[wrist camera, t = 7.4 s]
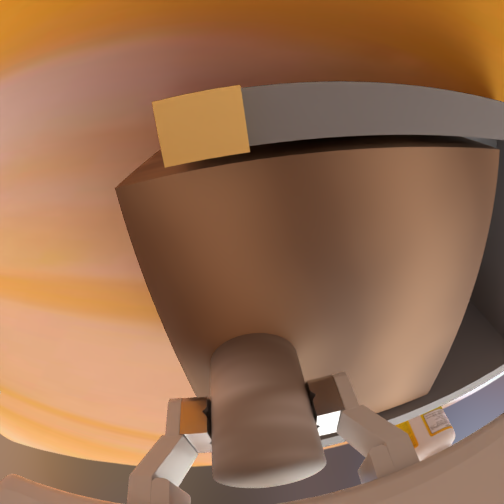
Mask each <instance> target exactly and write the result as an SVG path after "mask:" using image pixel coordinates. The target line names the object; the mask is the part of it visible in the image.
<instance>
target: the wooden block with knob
mask: <svg viewBox="0 0 504 504" xmlns="http://www.w3.org/2000/svg"><path fill="white" fill-rule="evenodd" d="M249 148H250V152H248V153H241V154H235V155H228V156H222V157H217V158H211V159H205V160H200V161H195V162H190V163H185V164H180V165H175V166H170V167H166V168H165V166H164V162H163V157H162V152H161V150H159V151H158V152H157V153H156V154H154V155H153V156H152V157H151V158H149V159H148V160H147V161H146V162H145V163H143V164H142V165H141V166H140V167H139V168H137V169H136V170H135V171H134V172H133V173H132V174H130V175H129V176H128V177H127V178H126V179H125V180H123V181H122V182H121V183H120V184H119V185H118V186H117V187H116V188H115V190H116V193H117V197H118V200H119V204H120V207H121V210H122V214H123V217H124V220H125V223H126V227H127V230H128V233H129V236H130V239H131V242H132V245H133V248H134V251H135V254H136V257H137V260H138V262H139V265H140V268H141V271H142V273H143V276H144V279H145V281H146V284H147V287H148V289H149V292H150V295H151V297H152V300H153V302H154V305H155V307H156V310H157V312H158V314H159V317H160V319H161V322H162V324H163V326H164V329H165V331H166V333H167V336H168V338H169V340H170V342H171V345H172V347H173V349H174V351H175V353H176V356H177V358H178V360H179V362H180V364H181V366H182V368H183V370H184V372H185V374H186V377H187V379H188V381H189V383H190V385H191V387H192V389H193V391H194V393H195V394H196V396H197V397H206V396H209V398H210V400H211V441H212V470H213V478H214V480H215V481H217V482H218V483H221V484H224V485H227V486H232V487H241V488H263V487H272V486H279V485H284V484H288V483H293V482H296V481H299V480H302V479H305V478H307V477H310V476H312V475H314V474H316V473H317V472H319V471H320V470H321V469H323V468H324V467H325V465H326V458H325V455H324V451H323V447H322V443H321V439H320V436H319V432H318V428H317V424H316V421H315V417H314V413H313V410H312V406H311V402H310V399H309V395H308V391H307V388H306V381H308V380H312V379H316V378H320V377H324V376H328V375H333V374H337V373H341V372H345V373H346V374H347V376H348V378H349V381H350V383H351V386H352V388H353V391H354V393H355V396H356V398H357V401H358V403H359V406H360V405H364V406H366V407H367V408H369V409H370V410H372V411H373V412H375V413H379V412H382V411H385V410H388V409H391V408H393V407H396V406H399V405H402V404H404V403H407V402H409V401H412V400H415V399H417V398H419V397H422V396H424V395H427V394H428V392H429V391H430V389H431V387H432V385H433V383H434V381H435V379H436V377H437V375H438V373H439V371H440V369H441V367H442V365H443V363H444V361H445V359H446V357H447V355H448V353H449V350H450V348H451V346H452V344H453V341H454V339H455V337H456V334H457V332H458V329H459V327H460V324H461V322H462V319H463V317H464V314H465V311H466V309H467V306H468V303H469V300H470V297H471V294H472V291H473V288H474V285H475V282H476V278H477V275H478V272H479V268H480V265H481V261H482V257H483V253H484V249H485V245H486V241H487V236H488V232H489V227H490V222H491V217H492V211H493V205H494V199H495V192H496V185H497V176H498V166H499V153H500V149H497V148H494V147H491V146H489V145H486V144H483V143H480V142H477V141H474V140H471V139H467V138H464V137H461V136H443V135H364V136H344V137H329V138H316V139H305V140H295V141H286V142H277V143H269V144H261V145H254V146H249Z"/></svg>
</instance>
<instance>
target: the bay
mask: <svg viewBox="0 0 504 504" xmlns="http://www.w3.org/2000/svg"><path fill="white" fill-rule="evenodd" d="M152 106H153V112H154V117H155V122H156V128H157V133H158V138H159V143H160V148H161V152H162V157H163V162H164V166H165V168H166V167H170V166H175V165H180V164H185V163H190V162H195V161H200V160H205V159H211V158H217V157H222V156H228V155H235V154H241V153H248V152H250V148H249V146H254V145H261V144H269V143H277V142H286V141H295V140H305V139H316V138H329V137H344V136H364V135H443V136H461V137H464V138H467V139H471V140H474V141H477V142H480V143H483V144H486V145H489V146H491V147H494V148H497V149H500V153H499V166H498V176H497V185H496V192H495V199H494V205H493V211H492V217H491V222H490V227H489V232H488V236H487V241H486V245H485V249H484V253H483V257H482V261H481V265H480V268H479V272H478V275H477V278H476V282H475V285H474V288H473V291H472V294H471V297H470V300H469V303H468V306H467V309H466V311H465V314H464V317H463V319H462V322H461V324H460V327H459V329H458V332H457V334H456V337H455V339H454V341H453V344H452V346H451V348H450V350H449V353H448V355H447V357H446V359H445V361H444V363H443V365H442V367H441V369H440V371H439V373H438V375H437V377H436V379H435V381H434V383H433V385H432V387H431V389H430V391H429V392H428V394H427V395H424V396H422V397H419V398H417V399H415V400H412V401H409V402H407V403H404V404H402V405H399V406H396V407H393V408H391V409H388V410H385V411H382V412H379V413H376V414H378V415H379V416H381V417H382V418H384V419H386V420H387V421H389V422H390V423H392V424H393V425H397V424H400V423H402V422H405V421H407V420H410V419H412V418H415V417H417V416H420V415H422V414H424V413H426V412H429V411H431V410H433V409H435V408H438V407H440V406H442V405H444V404H446V403H448V402H450V401H452V400H454V399H456V398H458V397H460V396H462V395H464V394H466V393H467V392H469V391H471V390H473V389H475V388H476V387H478V386H480V385H482V384H483V383H485V382H487V381H488V380H490V379H492V378H493V377H495V376H497V375H498V374H500V373H501V372H503V371H504V102H501V101H497V100H494V99H490V98H485V97H481V96H476V95H472V94H467V93H462V92H456V91H450V90H444V89H438V88H431V87H423V86H415V85H405V84H393V83H378V82H348V81H331V82H301V83H285V84H273V85H263V86H254V87H245V88H241V86H240V85H235V86H228V87H222V88H216V89H210V90H204V91H199V92H194V93H189V94H184V95H179V96H175V97H170V98H166V99H162V100H158V101H154V102H152ZM320 439H321V443H322V447H326V446H330V445H334V444H338V443H341V442H345V440H344V439H343V438H342V437H341V436H340V435H338V434H337V432H334V433H330V434H325V435H321V436H320Z"/></svg>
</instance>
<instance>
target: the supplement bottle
mask: <svg viewBox="0 0 504 504" xmlns="http://www.w3.org/2000/svg"><path fill="white" fill-rule="evenodd" d="M395 426H396V427H398V428H400V429H401V430H403V431H404V432H406V433H408V435H409V437H410V439H411V442H412V444H413V446H414V449H415V451H416V453H417V456H418V458H419V461H422V460H424V459H426V458H428V457H430V456H432V455H434V454H436V453H438V452H440V451H442V450H444V449H446V448H448V447H450V446H451V444H452V442H453V441H454V439H455V432H454V430H453V428H452V426H451V424H450V422H449V420H448V418H447V417H446V415H445V413H444V411H443V409H442V407H441V406H440V407H438V408H435V409H433V410H431V411H429V412H426V413H424V414H422V415H420V416H417V417H415V418H412V419H410V420H407V421H405V422H402V423H400V424H397V425H395Z"/></svg>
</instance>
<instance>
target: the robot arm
mask: <svg viewBox="0 0 504 504" xmlns="http://www.w3.org/2000/svg"><path fill="white" fill-rule="evenodd" d="M306 388H307V391H308V395H309V399H310V402H311V406H312V410H313V413H314V417H315V421H316V424H317V428H318V432H319V436H321V435H325V434H330V433H334V432H337V434H338V435H340V436H341V437H342V438H343V439H344V440H345V441H347V442H348V443H349V444H350V445H351V446H352V447H354V448H355V449H356V450H357V451H359V452H360V453H361V454H362V455H363V456H365V457H366V458H365V460H364V462H363V463H362V465H361V466H360V468H359V470H358V474H359V477H360V480H361V485H357V486H354V487H351V488H348V489H344V490H340V491H337V492H333V493H329V494H325V495H320V496H316V497H312V498H307V499H302V500H297V501H292V502H285V503H280V504H504V413H503V414H501V415H500V416H498V417H497V418H495V419H494V420H493V421H491V422H490V423H488V424H487V425H485V426H484V427H482V428H480V429H479V430H477V431H476V432H474V433H472V434H471V435H469V436H468V437H466V438H464V439H462V440H461V441H459V442H457V443H455V444H454V445H452V446H450V447H448V448H446V449H444V450H442V451H440V452H438V453H436V454H434V455H432V456H430V457H428V458H426V459H424V460H422V461H419V458H418V456H417V453H416V451H415V449H414V446H413V444H412V442H411V439H410V437H409V435H408V433H406V432H404V431H403V430H401V429H400V428H398V427H396V426H395V425H393V424H392V423H390V422H389V421H387V420H386V419H384V418H382V417H381V416H379V415H378V414H376V413H375V412H373V411H372V410H370V409H369V408H367V407H366V406H364V405H360V406H359V403H358V401H357V398H356V396H355V393H354V391H353V388H352V386H351V383H350V381H349V378H348V376H347V374H346V373H345V372H341V373H337V374H333V375H328V376H324V377H320V378H316V379H312V380H308V381H306ZM206 452H212V441H211V400H210V398H209V396H206V397H194V398H177V399H170V400H169V402H168V410H167V421H166V433H165V435H162V436H161V437H160V438H159V440H158V441H157V442H156V443H155V445H154V446H153V447H152V448H151V450H150V451H149V452H148V453H147V454H146V456H145V457H144V458H143V459H142V461H141V462H140V463H139V464H138V465H137V467H136V468H135V469H134V470H133V471H132V473H131V474H130V476H129V486H128V499H127V504H191V500H190V495H189V494H187V493H186V492H184V491H183V490H182V489H180V488H179V487H178V486H179V485H180V483H181V482H182V480H183V478H184V477H185V475H186V474H187V472H188V470H189V469H190V467H191V465H192V464H193V462H194V460H195V459H196V457H197V455H198V453H206ZM0 504H121V503H114V502H109V501H104V500H99V499H94V498H89V497H84V496H80V495H77V494H73V493H69V492H66V491H62V490H59V489H55V488H52V487H48V486H46V485H43V484H40V483H37V482H34V481H31V480H29V479H26V478H23V477H21V476H18V475H16V474H9V475H8V476H6V477H4V478H3V479H2V480H1V481H0Z"/></svg>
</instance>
